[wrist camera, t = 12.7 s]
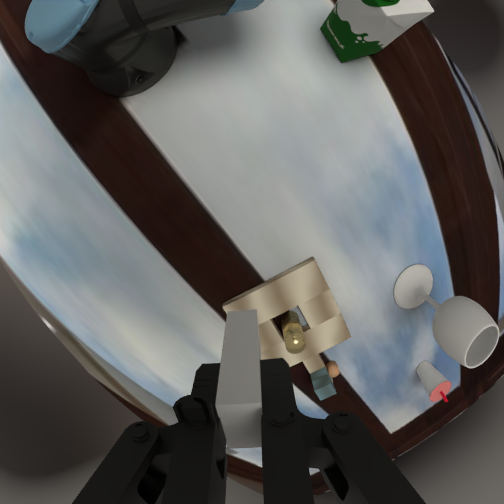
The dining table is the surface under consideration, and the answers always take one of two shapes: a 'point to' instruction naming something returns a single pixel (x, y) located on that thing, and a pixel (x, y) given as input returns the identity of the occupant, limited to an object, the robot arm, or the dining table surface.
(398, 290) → the wineglass
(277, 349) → the light wooden flat board
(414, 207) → the dining table surface
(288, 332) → the post
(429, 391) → the cup
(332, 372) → the dowel
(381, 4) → the milk carton
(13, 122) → the dining table surface
